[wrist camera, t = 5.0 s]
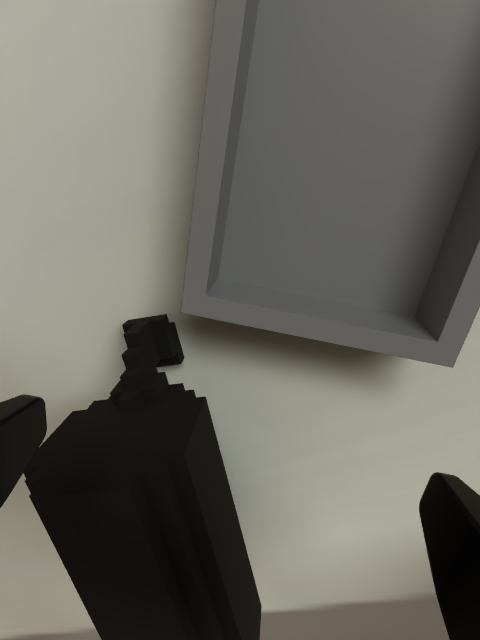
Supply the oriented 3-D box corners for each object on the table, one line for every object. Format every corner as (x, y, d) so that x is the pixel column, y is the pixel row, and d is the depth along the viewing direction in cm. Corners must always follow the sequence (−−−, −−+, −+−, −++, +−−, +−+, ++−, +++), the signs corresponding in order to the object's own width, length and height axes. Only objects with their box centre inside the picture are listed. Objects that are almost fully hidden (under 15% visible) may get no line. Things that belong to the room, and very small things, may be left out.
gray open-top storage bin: (692, -371, 11) (938, -703, 7) (421, 331, 19) (456, 372, 15) (292, -410, 11) (295, -737, 7) (200, 287, 20) (178, 315, 16)
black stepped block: (210, 303, 20) (145, 407, 11) (267, 543, 26) (256, 741, 17) (97, 321, 22) (-47, 428, 12) (176, 546, 28) (121, 732, 18)
